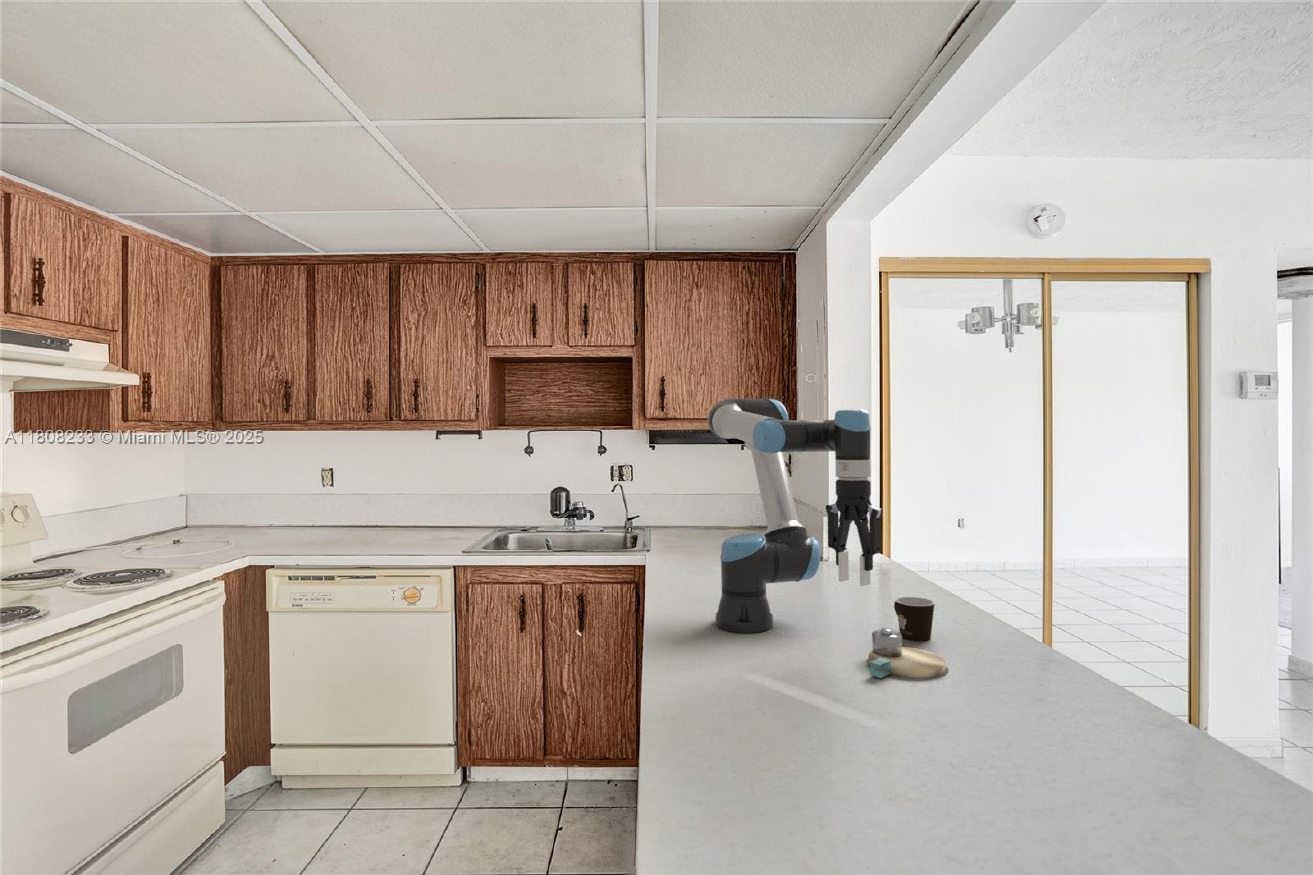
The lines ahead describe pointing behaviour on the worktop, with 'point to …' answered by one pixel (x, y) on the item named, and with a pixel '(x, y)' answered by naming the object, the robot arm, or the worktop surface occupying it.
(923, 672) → the platter
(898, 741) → the worktop surface
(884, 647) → the cover
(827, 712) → the worktop surface
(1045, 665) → the worktop surface
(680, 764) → the worktop surface
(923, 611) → the coffee mug
